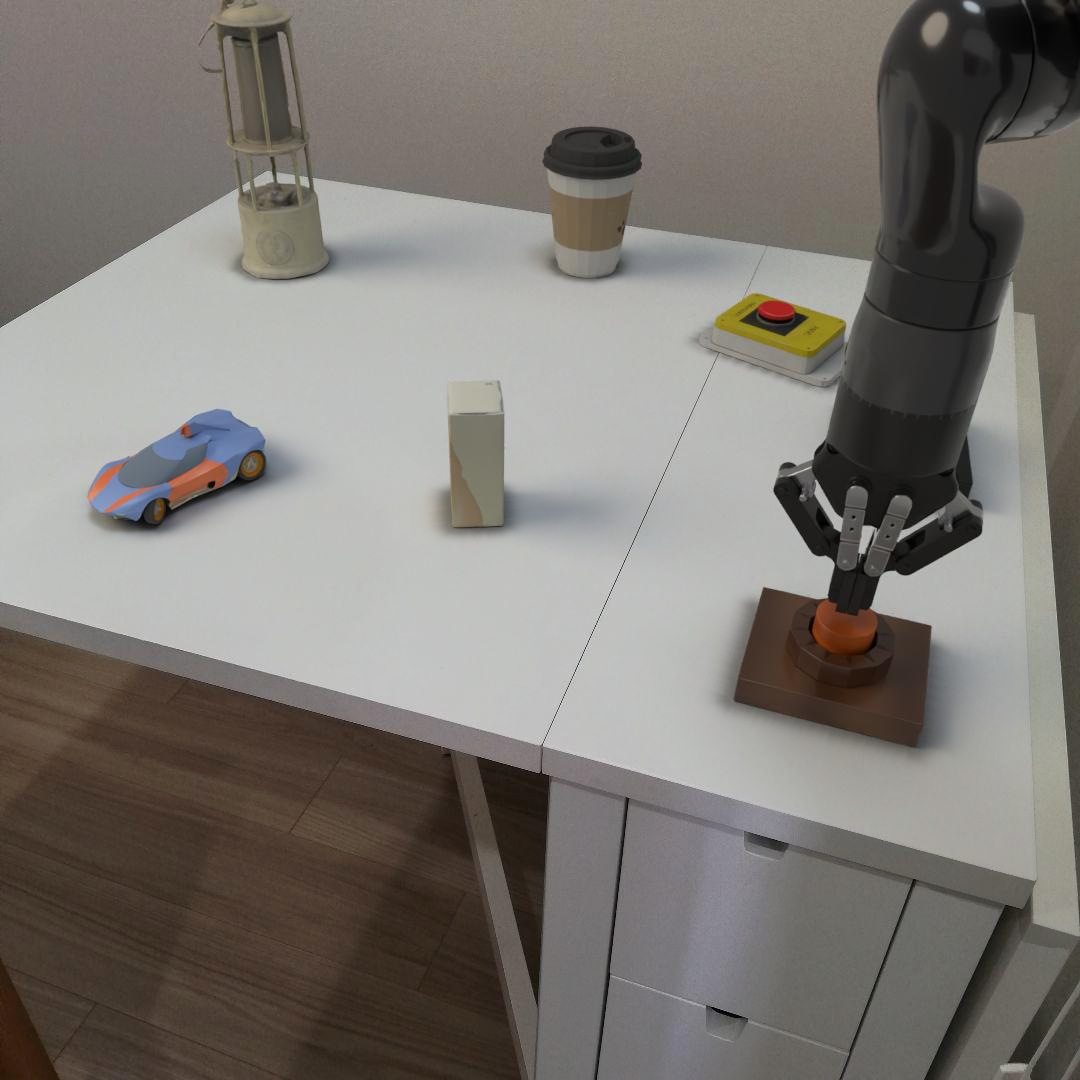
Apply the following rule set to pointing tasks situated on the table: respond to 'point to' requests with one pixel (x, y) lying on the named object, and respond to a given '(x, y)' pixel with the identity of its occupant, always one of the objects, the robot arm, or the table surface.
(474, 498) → the box
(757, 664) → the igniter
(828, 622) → the button
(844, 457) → the robot arm
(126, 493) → the toy car
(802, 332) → the emergency button
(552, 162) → the coffee cup
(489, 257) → the table surface
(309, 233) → the lamp
